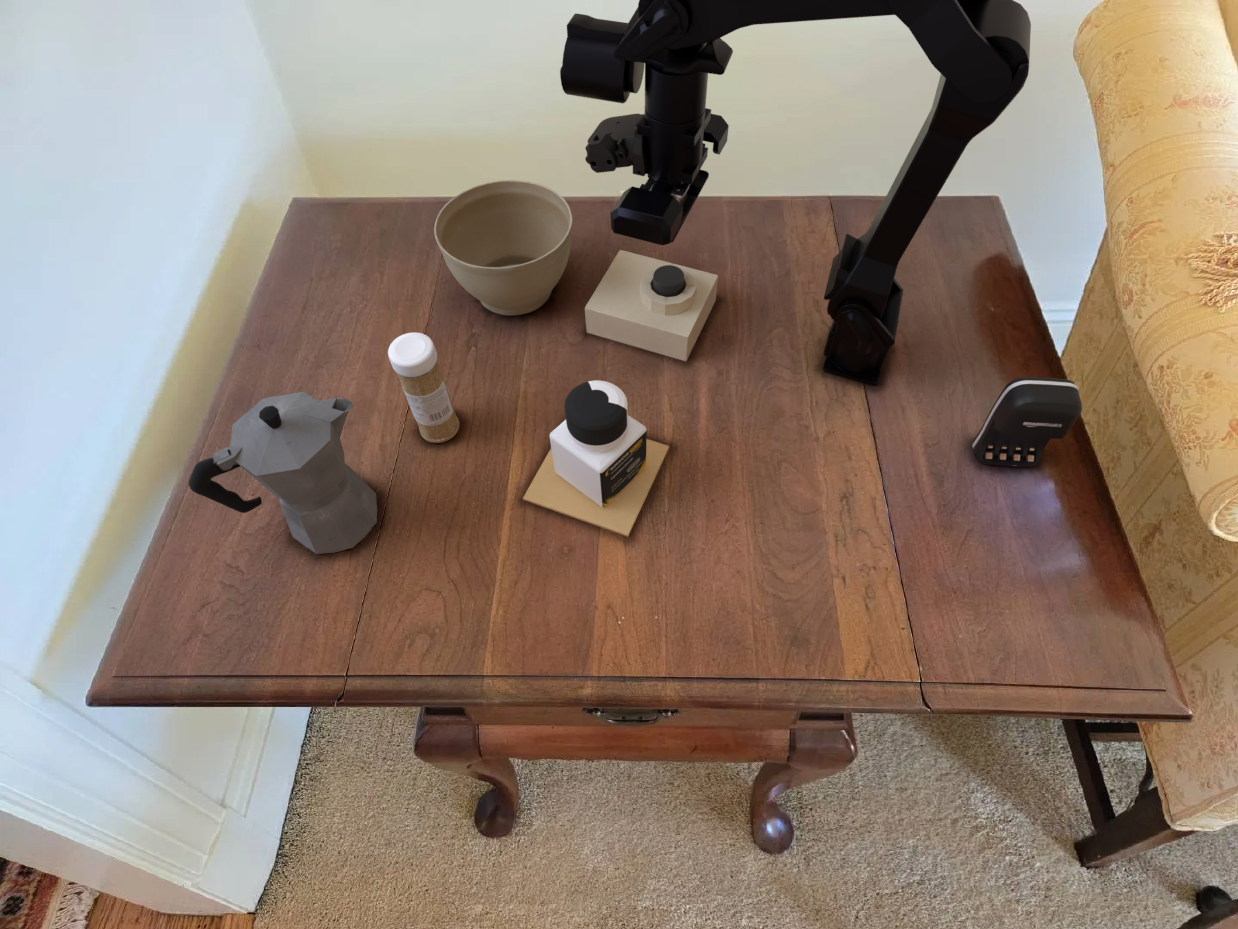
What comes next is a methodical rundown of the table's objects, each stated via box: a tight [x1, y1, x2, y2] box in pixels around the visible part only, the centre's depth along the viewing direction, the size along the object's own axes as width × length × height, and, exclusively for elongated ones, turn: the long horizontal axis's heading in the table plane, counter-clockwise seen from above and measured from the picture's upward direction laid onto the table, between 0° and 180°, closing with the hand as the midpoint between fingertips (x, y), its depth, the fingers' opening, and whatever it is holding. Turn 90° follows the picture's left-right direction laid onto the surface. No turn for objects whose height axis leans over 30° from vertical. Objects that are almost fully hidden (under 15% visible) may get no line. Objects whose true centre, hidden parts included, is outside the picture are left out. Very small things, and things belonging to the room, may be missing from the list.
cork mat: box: [522, 438, 670, 538], centre depth 83 cm, size 12×12×1 cm
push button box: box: [584, 249, 719, 362], centre depth 94 cm, size 13×11×6 cm
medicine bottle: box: [549, 379, 648, 508], centre depth 78 cm, size 7×7×12 cm
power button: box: [653, 265, 684, 297], centre depth 91 cm, size 4×4×2 cm
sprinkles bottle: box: [387, 331, 460, 444], centre depth 82 cm, size 5×5×13 cm
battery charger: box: [971, 376, 1083, 468], centre depth 79 cm, size 7×4×11 cm, turn 84°
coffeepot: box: [188, 391, 378, 555], centre depth 74 cm, size 15×9×18 cm, turn 123°
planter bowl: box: [433, 179, 574, 317], centre depth 95 cm, size 16×16×11 cm
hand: (669, 239), depth 86 cm, fingers closed
